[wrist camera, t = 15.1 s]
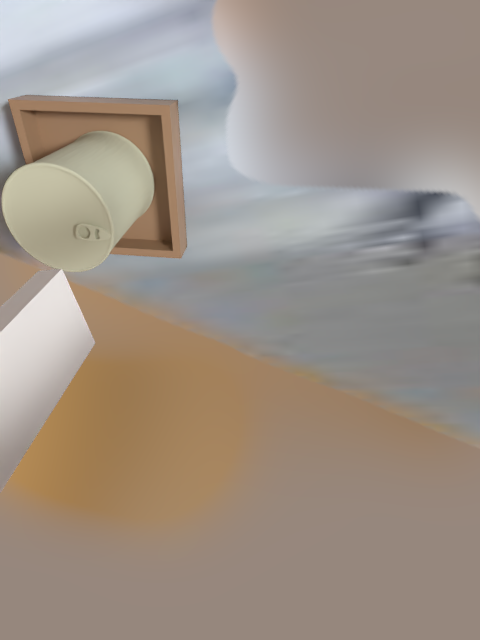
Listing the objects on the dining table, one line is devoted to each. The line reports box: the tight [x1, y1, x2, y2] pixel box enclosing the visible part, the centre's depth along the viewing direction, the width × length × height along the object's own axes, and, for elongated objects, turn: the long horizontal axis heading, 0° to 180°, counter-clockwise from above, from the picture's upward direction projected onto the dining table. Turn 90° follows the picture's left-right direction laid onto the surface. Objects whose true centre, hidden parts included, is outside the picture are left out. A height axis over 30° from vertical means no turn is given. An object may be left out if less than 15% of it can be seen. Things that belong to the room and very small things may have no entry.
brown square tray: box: [8, 95, 187, 258], centre depth 41 cm, size 15×15×3 cm
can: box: [1, 131, 154, 272], centre depth 37 cm, size 9×9×12 cm
